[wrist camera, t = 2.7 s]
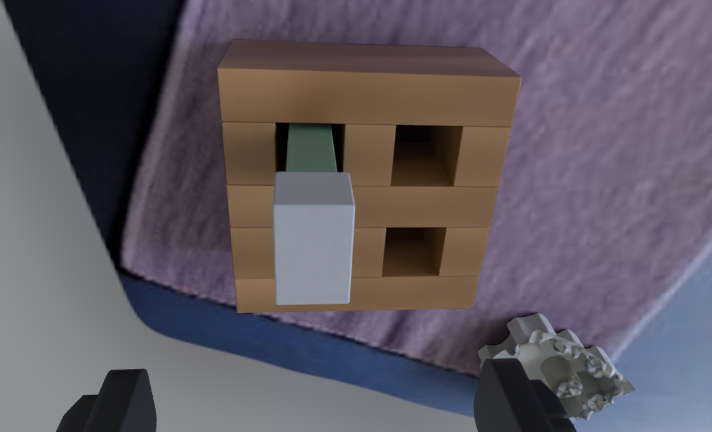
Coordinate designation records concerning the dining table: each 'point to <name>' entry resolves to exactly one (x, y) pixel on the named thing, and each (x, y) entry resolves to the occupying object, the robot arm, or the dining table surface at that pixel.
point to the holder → (371, 162)
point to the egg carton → (561, 365)
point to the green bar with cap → (312, 221)
